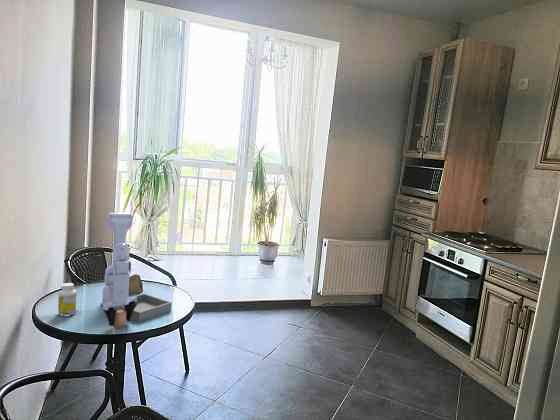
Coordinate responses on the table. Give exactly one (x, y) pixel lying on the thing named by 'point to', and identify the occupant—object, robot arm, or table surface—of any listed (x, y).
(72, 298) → the supplement bottle
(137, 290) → the rock
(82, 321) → the table surface
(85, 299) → the table surface
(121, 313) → the orange-brown upright cylinder
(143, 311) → the bin
